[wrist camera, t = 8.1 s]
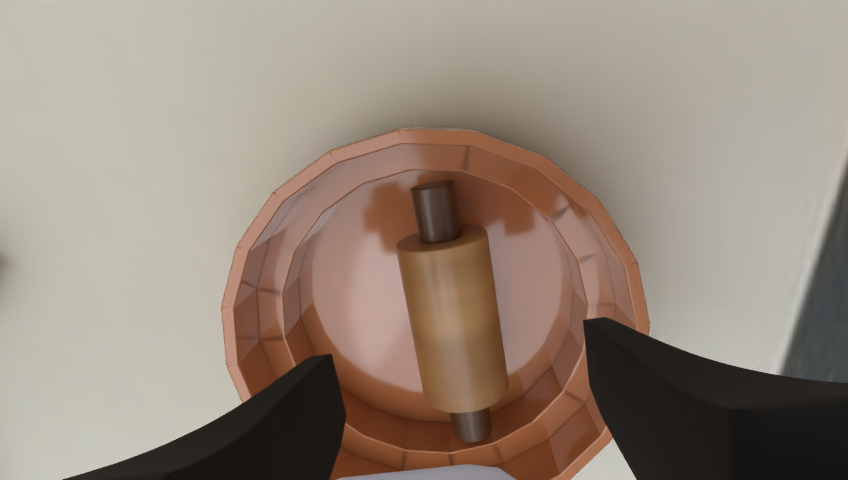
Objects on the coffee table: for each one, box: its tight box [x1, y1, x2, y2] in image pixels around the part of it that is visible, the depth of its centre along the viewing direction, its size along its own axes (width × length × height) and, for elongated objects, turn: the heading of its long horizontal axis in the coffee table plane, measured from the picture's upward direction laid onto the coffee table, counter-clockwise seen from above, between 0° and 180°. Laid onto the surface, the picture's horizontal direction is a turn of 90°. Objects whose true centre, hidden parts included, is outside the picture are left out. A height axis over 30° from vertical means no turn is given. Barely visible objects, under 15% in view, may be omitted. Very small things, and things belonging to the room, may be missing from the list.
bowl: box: [221, 127, 650, 480], centre depth 20 cm, size 16×16×5 cm
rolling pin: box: [396, 180, 509, 443], centre depth 20 cm, size 11×4×4 cm
